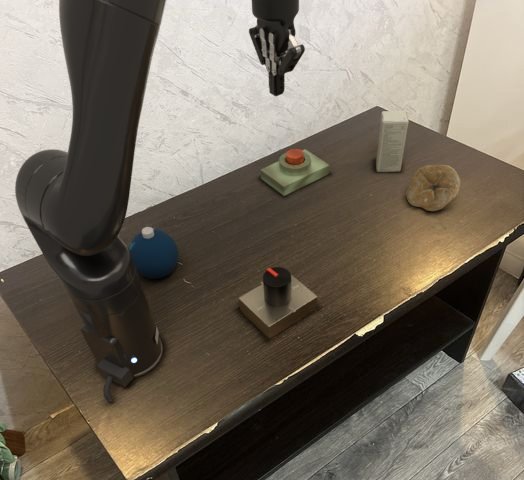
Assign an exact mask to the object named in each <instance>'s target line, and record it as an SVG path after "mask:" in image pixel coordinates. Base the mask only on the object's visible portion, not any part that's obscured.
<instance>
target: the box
mask: <svg viewBox="0 0 524 480" xmlns="http://www.w3.org/2000/svg"><path fill="white" fill-rule="evenodd" d="M409 121H410V120H409V114H408V111H407V110H383V111H381V115H380V124H379V126H380V127H379V132H378V133H379V134H378V142H377V150H376V157H375V167H376V168H375V169H376V172H377V173H378V172H379V173H381V172H382V173H387V172H388V173H390V172H393V173H395V172H401V171H402V170H401V169H402V164H403V159H404V152H405V147H406V141H407V140H406V139H407V134H408V128H409Z"/></svg>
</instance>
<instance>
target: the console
mask: <svg viewBox="0 0 524 480" xmlns="http://www.w3.org/2000/svg"><path fill="white" fill-rule="evenodd" d="M238 305H239V311H240V312H241V313H242V314H243V315H244V316H245V317H246V318H247V319H248V320H249V321H250V322H251V323H252V324H253V325H254V326H255V327H256V328H258V330H259V331H261V333H263V334H264V336H265V337H267V338H268V339H269V340H270V339H272V338H273V337H275V336H276V335H278V334H279V333H281V332H282V331H284V330H286V329H287V328H289V327H291V326H292V325H294V324H295V323H297V322H299V321H301V320H302V319H303V318H305V317H307V316H308V315H309V314H312V313H313V312H314V311H316V310H317V309H318V295H317V294H315V293H314V292H313V291H312V290H310V289H309V288H308V287H307V286H306V285H305V284H303V283H302V282H301V281H300V280H298V279H297V278H296V277H295V276H294V275H293V274H291V300H290V302H289V303H288V304H286V305H284V306H281V307H274V306H271V305H269V304H267V303H266V301H265V299H264V287H263V281H261V282H260V285H258V286H256V287H255V288H253V289H251V290H250V291H248V292H246V293H244V294H243V295H241V296H238Z"/></svg>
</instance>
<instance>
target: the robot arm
mask: <svg viewBox="0 0 524 480" xmlns="http://www.w3.org/2000/svg"><path fill="white" fill-rule="evenodd" d="M166 4H167V0H59V1H58V15H59V16H58V17H59V18H58V19H59V27H60V28H59V29H60V35H61V43H62V48H63V55H64V60H65V65H66V70H67V74H68V75H67V76H68V81H69V86H70V92H71V93H70V94H71V104H72V106H71V107H72V120H71V121H72V122H71V132H70V138H69V144H68V149H67V151H66V150H62V149H55V148H52V149H51V148H50V149H44V150H40V151H37V152H35V153H34V154H32V155H30V156H28V157H27V159H25V160H24V162H23V163H22V165H21V166H20V168H19V170H18V172H17V175H16V177H15V178H16V179H15V186H14V193H15V201H16V204H17V207H18V210H19V212H20V214H21V217H22V219H23V220H24V222H25V225H26V226H27V228H28V230H29V232H30V234H31V235H32V237H33V239H34V241H35V243H36V244H37V246H38V248H39V250H40V251H41V253H42V255H43V257H44V258H45V260H46V262H47V264H48V265H49V266H50V267H51V269H52V270H53V271H54V273H55V274H56V275H57V277H58V278H59V279H60V280H61V282H62V283H63V285H64V288H65V290H66V291H67V293H68V295H69V297H70V300H71V301H72V303H73V305H74V307H75V309H76V311H77V314H78V315H79V317H80V319H81V321H82V323H83V324H82V325H81V326H80V328H79V330H80V332H81V334H82V336H83V338H84V340H85V342H86V343H87V345H88V348H89V350H90V352H91V353H92V356H93V358H94V360H95V361H96V363H97V365H96V368H97V370H98V372H99V374H100V375H101V376H102V377H104V378H106V380H105V383H104V385H103V397H104V399H105V400H106V402H107V403H111V402H113V401H114V397H113V396H112V394H111V387H112V384H113V382H114V383H116V384H118V385H119V386H121V387H123V388H126V386H128V385H129V384H130V383H131V382H132V381H134V379H135V378H139V377H142V376H144V375H147V374H148V373H150V372H151V371H152V370H154V369H155V368H156V367H157V366H158V365H159V363H160V362H161V360H162V357H163V354H164V345H163V344H162V340H161V338H160V336H159V335H160V331H159V329H158V326H156V325H155V322H154V318H153V315H152V312H151V308H150V307H149V304H148V303H149V302H148V300H147V297H146V295H145V291H144V288H143V285H142V282H141V278H140V275H139V273H138V272H137V270H136V267H135V264H134V261H133V258H132V255H131V252H130V250H129V248H130V247H129V246H128V245H127V244H126V242H125V241H123V239H122V237H120V235H119V234H120V232H121V230H122V228H123V225H124V222H125V219H126V216H127V212H128V206H129V202H130V201H129V199H130V192H131V185H132V177H133V168H134V159H135V152H136V146H137V145H136V144H137V138H138V130H139V126H140V125H139V124H140V119H141V115H142V110H143V106H144V100H145V95H146V90H147V85H148V80H149V75H150V70H151V65H152V61H153V56H154V53H155V48H156V43H157V40H158V37H159V34H160V31H161V25H162V22H163V16H164V12H165V9H166ZM299 11H300V0H251V13H252V16H253V17H254V18H256V25H255V26H254V27H250V28H249V29H248V34H249V37H250V39H251V42H252V45H253V47H254V50H255V52H256V55H257V58H258V61H259V63H260V65H262V66H265V70H266V72H267V73H268V75H267V76H268V89H269V90H268V92H269V94H271V95H272V96H274V97H278V96H281V95H283V94H284V92H285V85H286V84H285V80H286V79H285V77H286V76H285V74H287V73H291V72H293V71H294V70H295V68H296V66H297V65H298V63H299V61H300V60H301V58H302V56H304V53H305V51H306V48H305V45H304V44H299V43H298V41H297V40H296V34H297V33H296V27H295V18H296V17H297V15H298V13H299Z"/></svg>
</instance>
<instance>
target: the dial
mask: <svg viewBox="0 0 524 480" xmlns="http://www.w3.org/2000/svg"><path fill="white" fill-rule="evenodd" d="M291 275H292V274H291V272H290V271H289V269H287V268H285V267H281V266H275V267H268V268H266V271H265V272H263V275H262V282H263V287H264V299H265V301H266V303H267V304H269V305H271V306H274V307H281V306H284V305H286V304H288V303H289V302H290V300H291Z"/></svg>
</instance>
